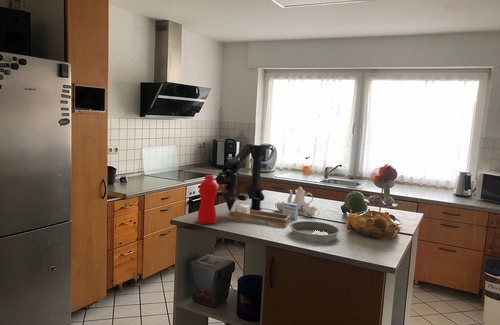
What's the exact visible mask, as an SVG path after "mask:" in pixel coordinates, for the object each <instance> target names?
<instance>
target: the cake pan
mask: <svg viewBox="0 0 500 325" xmlns="http://www.w3.org/2000/svg"><path fill="white" fill-rule="evenodd" d="M289 228H290V230H291V232H292V236H293V237H294V236H295V237H294V238H296V239H298V238H299V239H298V240H301V241H304V240H305V241H306V242H309V243H317V242H327V243H332V242H334V241H336V240H335V239H337V237H338V234H340V232H341V230H340V228H339V227H337V226H335V225H333V224H329V223H325V222H321V221H313V220H312V221H311V220H303V221H295V222H292V223H289ZM315 230H316V231H317V230H318V231H320V232H323V231H324V232H327V233H328V235H318V234H312V233H313V232H314V231H315ZM331 241H332V242H331Z"/></svg>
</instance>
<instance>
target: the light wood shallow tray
mask: <svg viewBox="0 0 500 325" xmlns="http://www.w3.org/2000/svg"><path fill="white" fill-rule="evenodd" d="M228 213H229V214H228V217H227V218H228V220H230V221H236V222H237V221H238V222H243V223H244V222H245V223H251V224H257V225H262V226H271V227H277V228H282V229H284V228H285V229H286V228H287V227H288V226H289V225H290V224H291V222H292V220H291V215H285V214H283V213H279V212H278V213H276V212H269V211H262V210H259V211H257V210H250V214H246V213H239V212H236V210H235V211H233V210H231V211H229V212H228Z"/></svg>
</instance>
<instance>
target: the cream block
mask: <svg viewBox="0 0 500 325" xmlns="http://www.w3.org/2000/svg"><path fill="white" fill-rule="evenodd" d="M250 208H251V204H244V203H243V204H242V203H240V204H238V205H236V208H235V211H236V212H239V213H246V214H250Z"/></svg>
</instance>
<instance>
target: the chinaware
mask: <svg viewBox="0 0 500 325" xmlns="http://www.w3.org/2000/svg"><path fill="white" fill-rule="evenodd" d="M294 191H295V192H294V193H295V196H294V200H293V201H292V198H293V190H292V189H289V195H288V198H287V203H293V204H298V205H299V208H298V215H299V214H301V215H303V214H305V215H306V217H307V218H312V217H315V216H316V212H318V214H317V216H318V215H320V211H319V210H318V208H316V206H310V204H311V203H312V202H313V200H314V197H313V195H312V193H310V192H306V190H304V189H303V188H302V186H299V187H298V188H297V189H295V190H294ZM308 195H310V196H311V201H309V202H306V200H305V197H306V196H308ZM284 203H286V202H284V201H281V202H279V201H276V202H275V204H274V206H275V207H274V208H276V209H277V210H278V211H279V212H278V213H281V214H283V205H284Z"/></svg>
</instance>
